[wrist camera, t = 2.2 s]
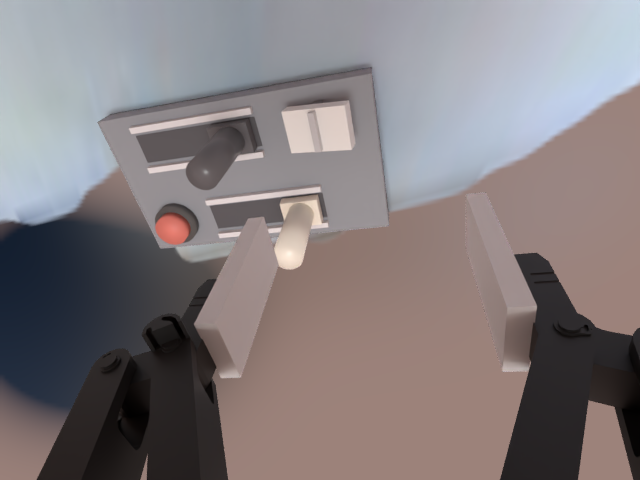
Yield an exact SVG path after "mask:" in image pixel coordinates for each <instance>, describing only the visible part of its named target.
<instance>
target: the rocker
mask: <svg viewBox="0 0 640 480" xmlns="http://www.w3.org/2000/svg"><path fill="white" fill-rule="evenodd" d="M281 113H282V117H283V121H284V125H285V129H286V133H287V137H288V141H289V145H290V149H291V153H306V152H324V151H341V150H352V149H353V147H354V145H355V144H356V143H355V137H354V130H353V124H352V117H351V110H350V104H349V100H347V101H337V102H328V103H318V104H309V105H299V106H290V107H286V108H285V109H284V110H283V111H282V112H281Z"/></svg>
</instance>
